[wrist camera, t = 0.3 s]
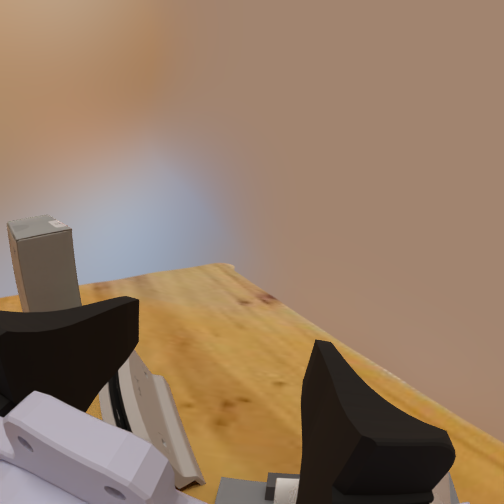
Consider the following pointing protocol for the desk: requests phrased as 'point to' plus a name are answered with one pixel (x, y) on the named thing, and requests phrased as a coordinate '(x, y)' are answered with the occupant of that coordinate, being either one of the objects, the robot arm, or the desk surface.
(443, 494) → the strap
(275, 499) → the strip
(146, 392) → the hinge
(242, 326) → the desk surface
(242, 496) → the base plate
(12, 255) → the hard drive box
